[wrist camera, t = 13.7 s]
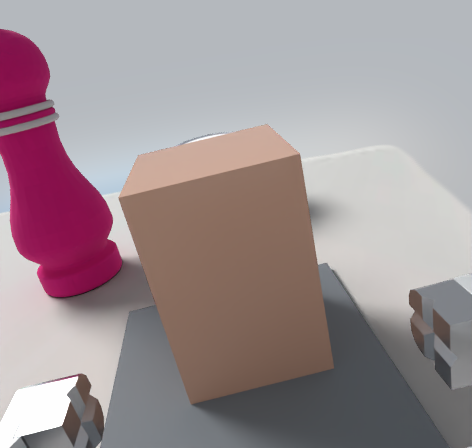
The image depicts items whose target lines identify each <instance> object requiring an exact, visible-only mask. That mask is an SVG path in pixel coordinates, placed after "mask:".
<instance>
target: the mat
mask: <svg viewBox="0 0 472 448" xmlns="http://www.w3.org/2000/svg"><path fill="white" fill-rule="evenodd" d="M318 270H319V276H320V282H321V289H322V295H323V301H324V307H325V314H326V320H327V326H328V332H329V339H330V345H331V351H332V357H333V364H334V369H330V370H326V371H322V372H318V373H314V374H310V375H306V376H302V377H298V378H294V379H290V380H286V381H282V382H278V383H274V384H270V385H266V386H262V387H258V388H254V389H250V390H246V391H242V392H238V393H235V394H231V395H227V396H223V397H219V398H215V399H211V400H207V401H203V402H199V403H195V404H190V401H189V398H188V395H187V392H186V389H185V387H184V384H183V381H182V378H181V375H180V372H179V369H178V367H177V364H176V361H175V358H174V355H173V352H172V349H171V347H170V344H169V341H168V338H167V335H166V332H165V329H164V327H163V324H162V321H161V318H160V315H159V312H158V310H157V307H156V305H155V306H151V307H147V308H143V309H139V310H135V311H130V312H129V316H128V321H127V326H126V330H125V335H124V340H123V344H122V349H121V354H120V358H119V363H118V367H117V372H116V377H115V381H114V386H113V391H112V395H111V400H110V405H109V409H108V414H107V418H106V423H105V428H104V432H103V437H102V442H101V446H100V448H449V446H448V445H447V443H446V442H445V440H444V439H443V437H442V436H441V434H440V433H439V431H438V430H437V428H436V427H435V425H434V424H433V422H432V421H431V419H430V417H429V416H428V414H427V413H426V411H425V410H424V408H423V407H422V405H421V404H420V402H419V401H418V399H417V398H416V396H415V395H414V393H413V392H412V390H411V389H410V387H409V386H408V384H407V383H406V381H405V380H404V378H403V377H402V375H401V374H400V372H399V371H398V369H397V368H396V366H395V365H394V363H393V362H392V360H391V359H390V357H389V356H388V354H387V353H386V351H385V350H384V348H383V347H382V345H381V344H380V342H379V341H378V339H377V338H376V336H375V335H374V333H373V332H372V330H371V329H370V327H369V326H368V324H367V323H366V321H365V320H364V318H363V317H362V315H361V314H360V312H359V311H358V309H357V308H356V306H355V305H354V303H353V302H352V300H351V299H350V297H349V296H348V294H347V293H346V291H345V290H344V288H343V287H342V285H341V284H340V282H339V281H338V279H337V278H336V276H335V275H334V273H333V272H332V270H331V269H330V267H329V266H328V264H327V263H324V264H320V265H318Z"/></svg>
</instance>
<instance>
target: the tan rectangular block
mask: <svg viewBox="0 0 472 448" xmlns="http://www.w3.org/2000/svg"><path fill="white" fill-rule="evenodd" d="M119 201H120V204H121V207H122V210H123V212H124V215H125V218H126V221H127V224H128V227H129V230H130V232H131V235H132V238H133V241H134V244H135V247H136V250H137V252H138V255H139V258H140V261H141V264H142V267H143V270H144V272H145V275H146V278H147V281H148V284H149V287H150V290H151V292H152V295H153V298H154V301H155V304H156V307H157V310H158V312H159V315H160V318H161V321H162V324H163V327H164V329H165V332H166V335H167V338H168V341H169V344H170V347H171V349H172V352H173V355H174V358H175V361H176V364H177V367H178V369H179V372H180V375H181V378H182V381H183V384H184V387H185V389H186V392H187V395H188V398H189V401H190V404H195V403H199V402H203V401H207V400H211V399H215V398H219V397H223V396H227V395H231V394H235V393H238V392H242V391H246V390H250V389H254V388H258V387H262V386H266V385H270V384H274V383H278V382H282V381H286V380H290V379H294V378H298V377H302V376H306V375H310V374H314V373H318V372H322V371H326V370H330V369H334V364H333V357H332V351H331V345H330V339H329V332H328V326H327V320H326V314H325V307H324V301H323V295H322V289H321V282H320V276H319V270H318V264H317V257H316V251H315V245H314V239H313V232H312V226H311V220H310V214H309V207H308V201H307V195H306V189H305V182H304V176H303V170H302V164H301V157H300V153H299V152H297V151H296V150H295V149H294V148H293V147H292V146H291V145H290V144H289V143H287V142H286V141H285V140H284V139H283V138H282V137H281V136H280V135H278V133H276V132H275V131H274V130H273V129H272V128H271V127H270V126H269V125H267V124H265V125H261V126H257V127H253V128H249V129H245V130H241V131H236V132H232V133H228V134H224V135H220V136H216V137H212V138H207V139H203V140H199V141H195V142H191V143H187V144H183V145H178V146H174V147H171V148H166V149H162V150H158V151H154V152H150V153H145V154H141V155H138V157H137V159H136V161H135V163H134V165H133V167H132V170H131V172H130V174H129V176H128V178H127V181H126V183H125V185H124V187H123V189H122V191H121V193H120V196H119Z"/></svg>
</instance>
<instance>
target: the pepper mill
mask: <svg viewBox="0 0 472 448" xmlns="http://www.w3.org/2000/svg"><path fill="white" fill-rule="evenodd" d="M49 79H50V71H49V68H48V64H47V62H46V60H45V57H44V56H43V54H42V53H41V51H40V50H39V48H38V47H37V46H36V45H35V44H34V43H33V42H32V41H31V40H30V39H28V38H27V37H25V36H23V35H21V34H19V33H16V32H13V31H9V30H4V29H0V154H1V156H2V159H3V161H4V164H5V167H6V170H7V173H8V178H9V183H10V195H11V204H10V224H11V232H12V237H13V239H14V242H15V245H16V247H17V250H18V251H19V253H20V254H21V255H22V256H24V257H25V258H26V259H28V260H30V261H33V262H35V263H38V264H40V266H39V268H38V271H37V275H38V277H39V279H40V282H41V284H42V286H43V288H44V290H45V292H46V293H47V294H48V295H51V296H54V297H69V296H74V295H78V294H82V293H85V292H87V291H90V290H92V289H94V288H96V287H98V286H100V285H102V284H104V283H105V282H107V281H108V280H110V279H111V278H112V277H113V276H115V275H116V274H117V272H118V271H119V270H120V268H121V266H122V259H121V256H120V254H119V251H118V248H117V246H116V243H115V242H113V241H111V240H108V239H107V238H108V236H109V233H110V231H111V228H112V224H113V217H112V214H111V212H110V210H109V207H108V205H107V203H106V201H105V200H104V198H103V197H102V196H101V194H100V193H99V192H98V190H96V188H95V187H93V185H92V184H91V183H90V182H89V181H88V180H87V179H86V178H85V177H84V176H83V175H82V174H81V173H80V172H79V170H78V169H77V168H76V167H75V166H74V164H73V163H72V161H71V160H70V158H69V157H68V155H67V154H66V152H65V150H64V147H63V145H62V143H61V141H60V138H59V135H58V131H57V128H56V124H55V120H57V119H58V118H59V115H58V114H57V113H55V109H54V108H53V107H52V106H53V105H54V102H53V101H52V100H46V97H45V93H46V89H47V86H48V83H49Z"/></svg>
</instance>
